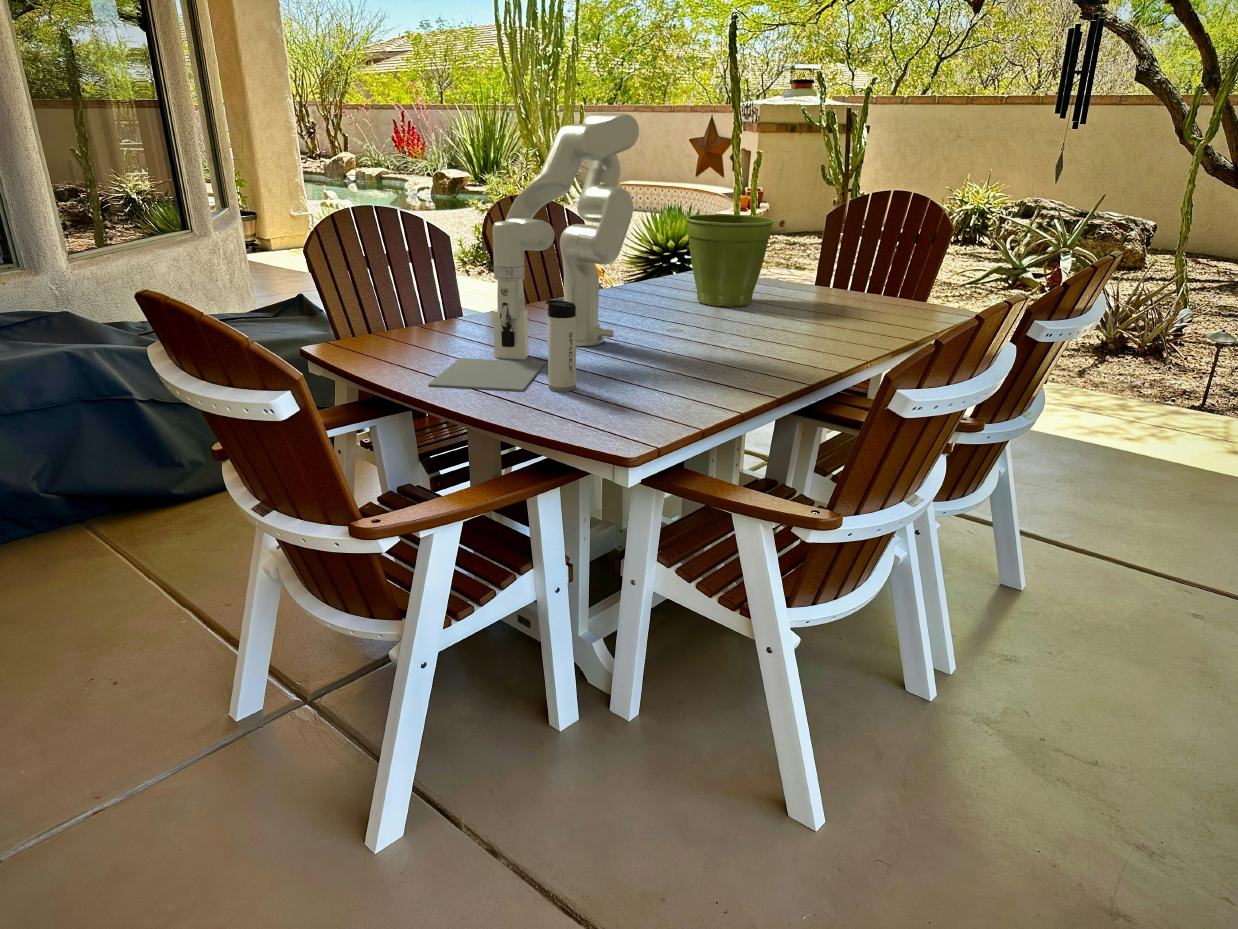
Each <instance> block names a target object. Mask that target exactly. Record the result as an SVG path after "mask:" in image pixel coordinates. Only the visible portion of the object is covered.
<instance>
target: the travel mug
mask: <svg viewBox="0 0 1238 929" xmlns="http://www.w3.org/2000/svg"><path fill="white" fill-rule="evenodd" d="M545 304H546V305H548V306H547V356H548V357H547V360H548V362H547V366H548V370H547V371H548V373H547V374H548V376H547V377H548V379H547V380H548V389H549V390H550V391H553V392H557V393H568V392H572V391H574V390H576V388H577V346H576V306H575V304H574V303H571V302H567V301H564V300H560V299H558V300H557V299H556V300H555V299H546V301H545Z"/></svg>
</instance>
